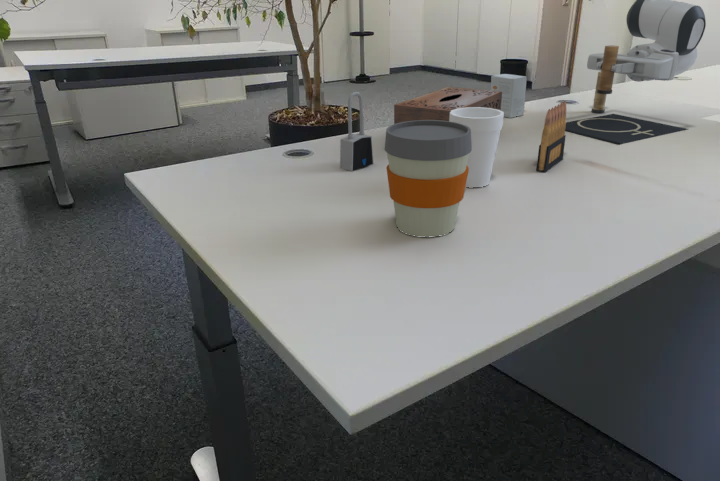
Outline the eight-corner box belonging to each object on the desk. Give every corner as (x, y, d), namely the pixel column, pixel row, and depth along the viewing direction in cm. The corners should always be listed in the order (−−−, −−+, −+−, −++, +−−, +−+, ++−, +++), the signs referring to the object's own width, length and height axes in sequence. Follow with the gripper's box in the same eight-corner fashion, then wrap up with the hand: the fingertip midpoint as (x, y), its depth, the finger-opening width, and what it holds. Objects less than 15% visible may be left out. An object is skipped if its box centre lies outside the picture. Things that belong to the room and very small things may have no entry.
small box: (523, 115, 152) (527, 76, 148) (510, 118, 149) (513, 78, 145) (502, 111, 158) (505, 73, 154) (488, 113, 155) (491, 75, 151)
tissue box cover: (451, 158, 117) (454, 111, 112) (394, 149, 124) (394, 104, 120) (498, 132, 136) (502, 91, 131) (446, 126, 143) (447, 86, 139)
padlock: (353, 171, 110) (351, 95, 104) (338, 167, 113) (335, 93, 106) (375, 163, 114) (374, 90, 108) (360, 160, 117) (358, 88, 111)
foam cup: (505, 188, 99) (512, 116, 93) (456, 192, 97) (460, 119, 92) (486, 172, 107) (491, 105, 102) (440, 176, 106) (443, 108, 100)
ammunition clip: (545, 172, 107) (552, 110, 102) (535, 171, 108) (542, 109, 103) (562, 159, 114) (570, 100, 109) (554, 157, 115) (561, 99, 110)
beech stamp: (614, 93, 133) (623, 46, 128) (605, 94, 131) (613, 47, 127) (603, 91, 136) (610, 45, 131) (593, 92, 134) (600, 46, 130)
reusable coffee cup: (481, 236, 81) (489, 135, 74) (401, 248, 78) (402, 144, 71) (445, 206, 92) (449, 116, 85) (374, 216, 89) (373, 123, 82)
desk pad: (690, 131, 132) (691, 129, 132) (624, 146, 122) (624, 143, 122) (613, 115, 150) (613, 113, 150) (549, 126, 140) (549, 124, 139)
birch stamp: (607, 112, 153) (613, 72, 149) (598, 113, 152) (605, 73, 147) (597, 110, 156) (603, 70, 152) (588, 111, 155) (594, 72, 150)
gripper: (610, 45, 143) (573, 49, 138) (685, 53, 127) (646, 57, 121) (606, 70, 146) (569, 75, 140) (679, 81, 130) (641, 87, 124)
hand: (606, 67), depth 131 cm, fingers closed on beech stamp, 3 cm apart
